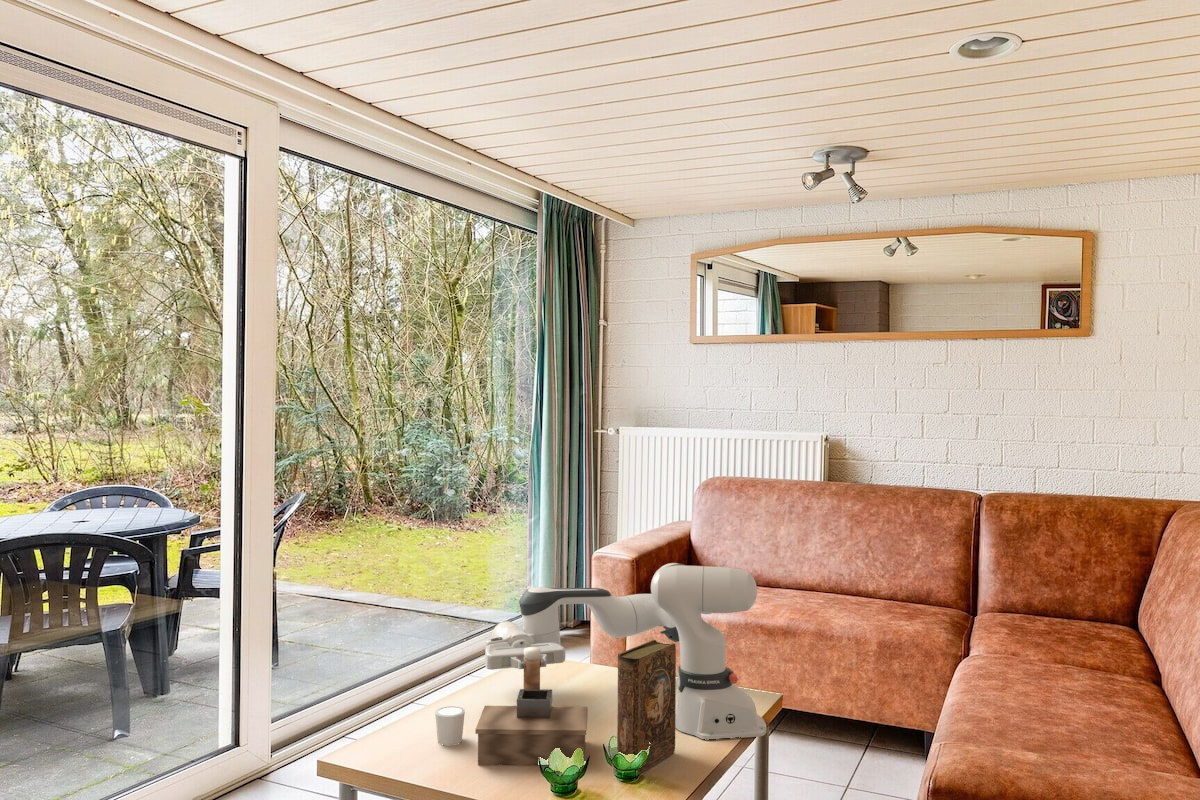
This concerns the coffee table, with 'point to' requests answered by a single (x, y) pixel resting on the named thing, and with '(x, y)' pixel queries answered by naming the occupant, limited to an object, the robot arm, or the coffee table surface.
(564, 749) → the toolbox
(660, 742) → the book
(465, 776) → the coffee table surface
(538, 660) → the white tipped wooden peg
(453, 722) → the white cup
